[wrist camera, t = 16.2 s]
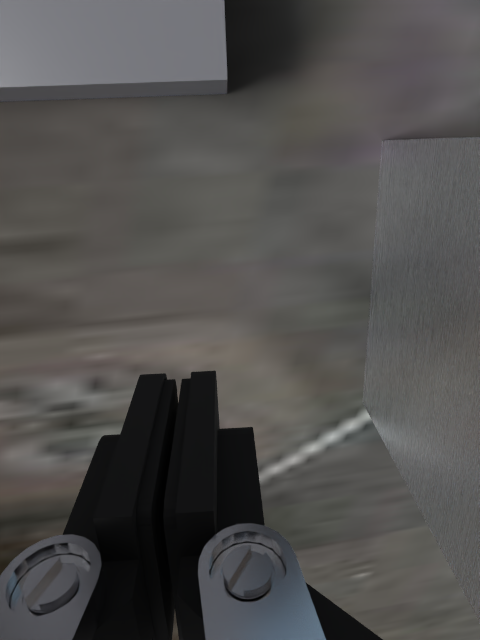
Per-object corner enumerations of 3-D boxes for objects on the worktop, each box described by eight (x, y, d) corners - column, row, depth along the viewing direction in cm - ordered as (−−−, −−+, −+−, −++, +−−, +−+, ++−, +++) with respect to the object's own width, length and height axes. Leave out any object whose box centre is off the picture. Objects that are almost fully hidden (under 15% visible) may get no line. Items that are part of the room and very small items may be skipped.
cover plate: (432, 138, 17) (734, 131, 7) (402, 399, 22) (559, 627, 12) (381, 140, 17) (610, 137, 7) (362, 401, 22) (484, 631, 11)
